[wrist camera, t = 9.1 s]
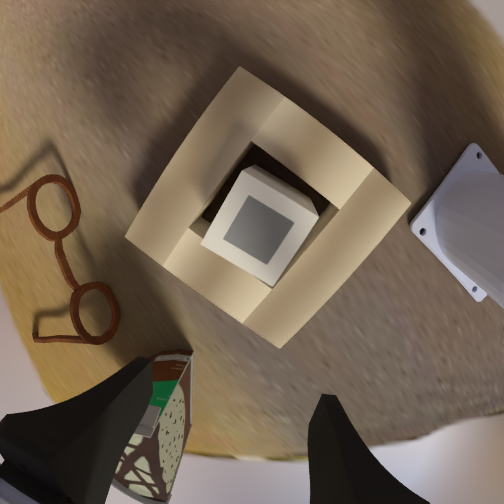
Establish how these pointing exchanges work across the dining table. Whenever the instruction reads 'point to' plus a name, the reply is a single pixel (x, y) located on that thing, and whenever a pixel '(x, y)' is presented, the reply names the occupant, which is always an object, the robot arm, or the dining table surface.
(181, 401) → the food container
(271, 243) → the connector plug
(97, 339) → the glasses
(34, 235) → the dining table surface
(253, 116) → the holder
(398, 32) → the dining table surface
